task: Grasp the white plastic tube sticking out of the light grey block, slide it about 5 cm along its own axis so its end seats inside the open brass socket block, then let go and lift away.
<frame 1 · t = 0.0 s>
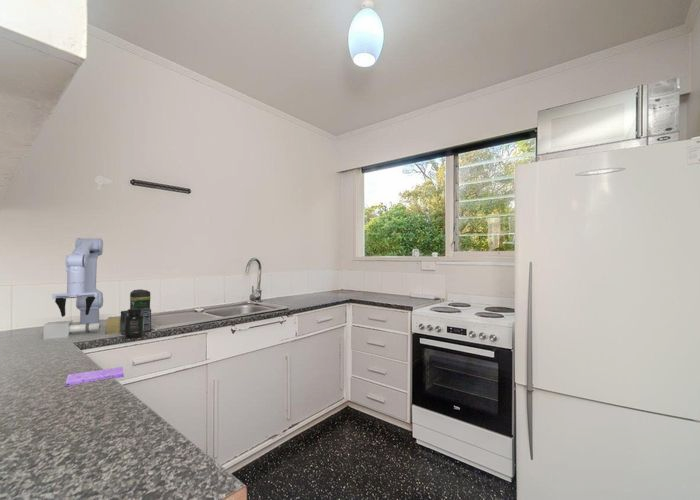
hand: (75, 315, 134), 10 cm above the countertop, tool pointing down, fingers open, 7 cm apart
tube: (73, 328, 141), point 3 cm above the countertop, slide at 0.0 cm
sponges: (96, 380, 90), on the countertop
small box: (136, 333, 146), on the countertop
light grey block: (58, 337, 138), on the countertop
socket: (107, 332, 147), on the countertop
supplement bottle: (134, 337, 138), on the countertop
coffee jar: (139, 327, 159), on the countertop
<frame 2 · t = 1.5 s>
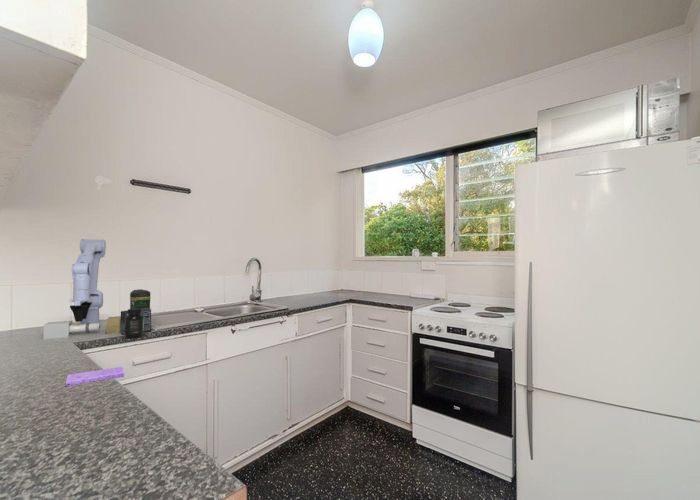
hand: (80, 320, 142), 7 cm above the countertop, tool pointing down, fingers open, 7 cm apart
nothing on the countertop moved.
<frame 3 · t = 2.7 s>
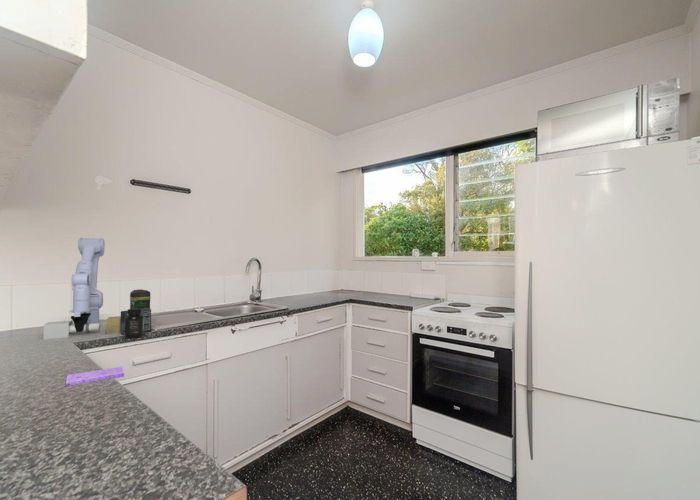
hand: (80, 330, 142), 2 cm above the countertop, tool pointing down, fingers closed on tube, 3 cm apart
tube: (73, 328, 141), point 3 cm above the countertop, slide at 0.0 cm, touching gripper
everything else where it was.
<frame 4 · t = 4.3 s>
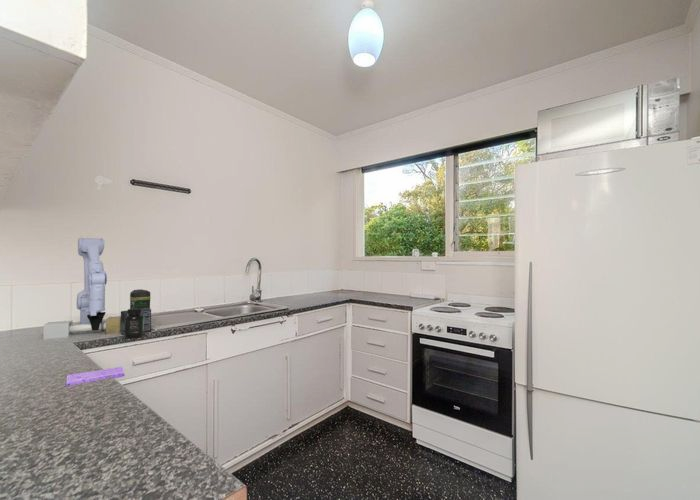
hand: (96, 329, 145), 2 cm above the countertop, tool pointing down, fingers closed on tube, 3 cm apart
tube: (88, 327, 143), point 3 cm above the countertop, slide at 5.3 cm, touching gripper
everything else where it was.
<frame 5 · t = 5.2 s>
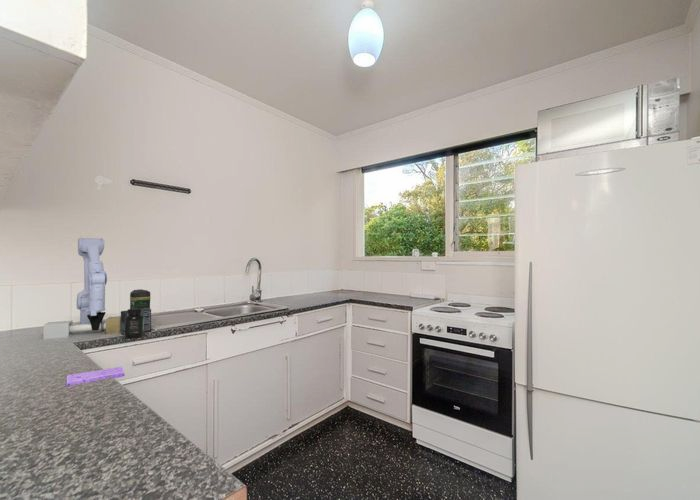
hand: (96, 329, 145), 2 cm above the countertop, tool pointing down, fingers closed on tube, 3 cm apart
tube: (88, 327, 143), point 3 cm above the countertop, slide at 5.3 cm, touching gripper
everything else where it was.
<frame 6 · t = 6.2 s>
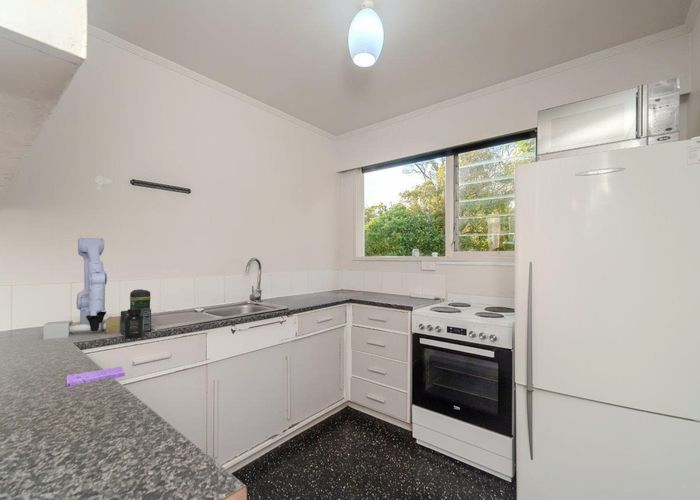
hand: (96, 329, 145), 2 cm above the countertop, tool pointing down, fingers open, 7 cm apart
tube: (88, 327, 143), point 3 cm above the countertop, slide at 5.3 cm
everything else where it was.
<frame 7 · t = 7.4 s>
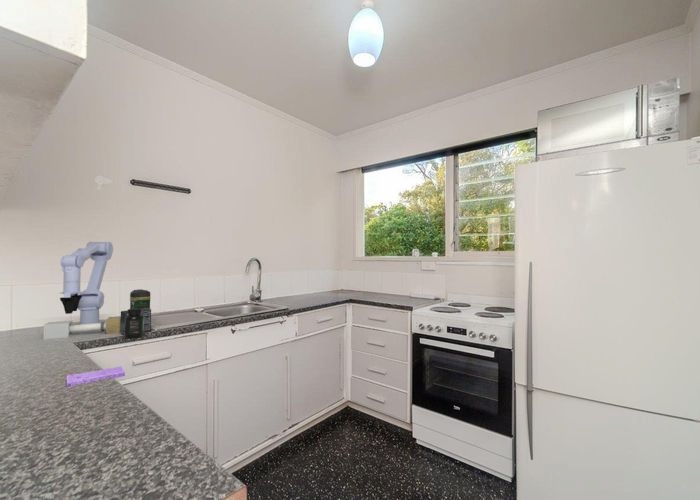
hand: (71, 312, 143), 10 cm above the countertop, tool pointing down, fingers open, 7 cm apart
nothing on the countertop moved.
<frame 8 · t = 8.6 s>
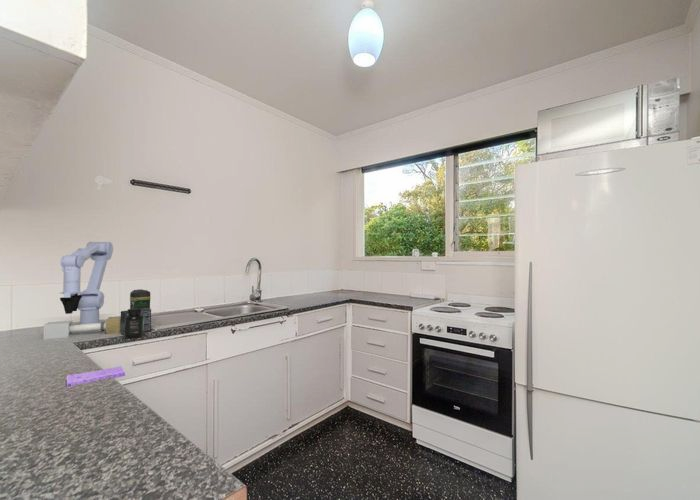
hand: (71, 312, 143), 10 cm above the countertop, tool pointing down, fingers open, 7 cm apart
nothing on the countertop moved.
at the end: tube slide at 5.3 cm; the gripper is holding nothing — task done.
